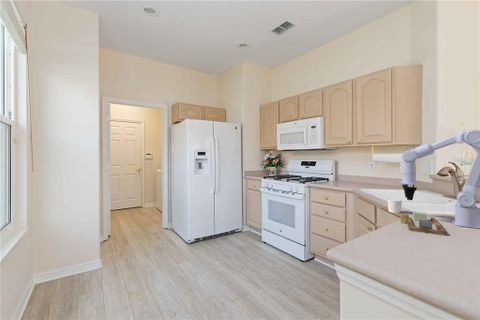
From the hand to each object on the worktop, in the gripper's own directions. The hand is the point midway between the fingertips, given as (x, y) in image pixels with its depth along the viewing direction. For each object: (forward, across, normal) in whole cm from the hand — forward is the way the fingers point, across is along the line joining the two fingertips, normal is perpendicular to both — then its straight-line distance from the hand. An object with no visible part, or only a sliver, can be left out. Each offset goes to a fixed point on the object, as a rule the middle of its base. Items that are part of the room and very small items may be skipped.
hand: (408, 198), depth 120 cm
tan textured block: (+10, +14, -4) cm, 17 cm away
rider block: (+10, +5, +4) cm, 12 cm away
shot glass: (+10, -8, -6) cm, 14 cm away
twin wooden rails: (+10, +14, +4) cm, 18 cm away
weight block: (+10, +23, +4) cm, 25 cm away
